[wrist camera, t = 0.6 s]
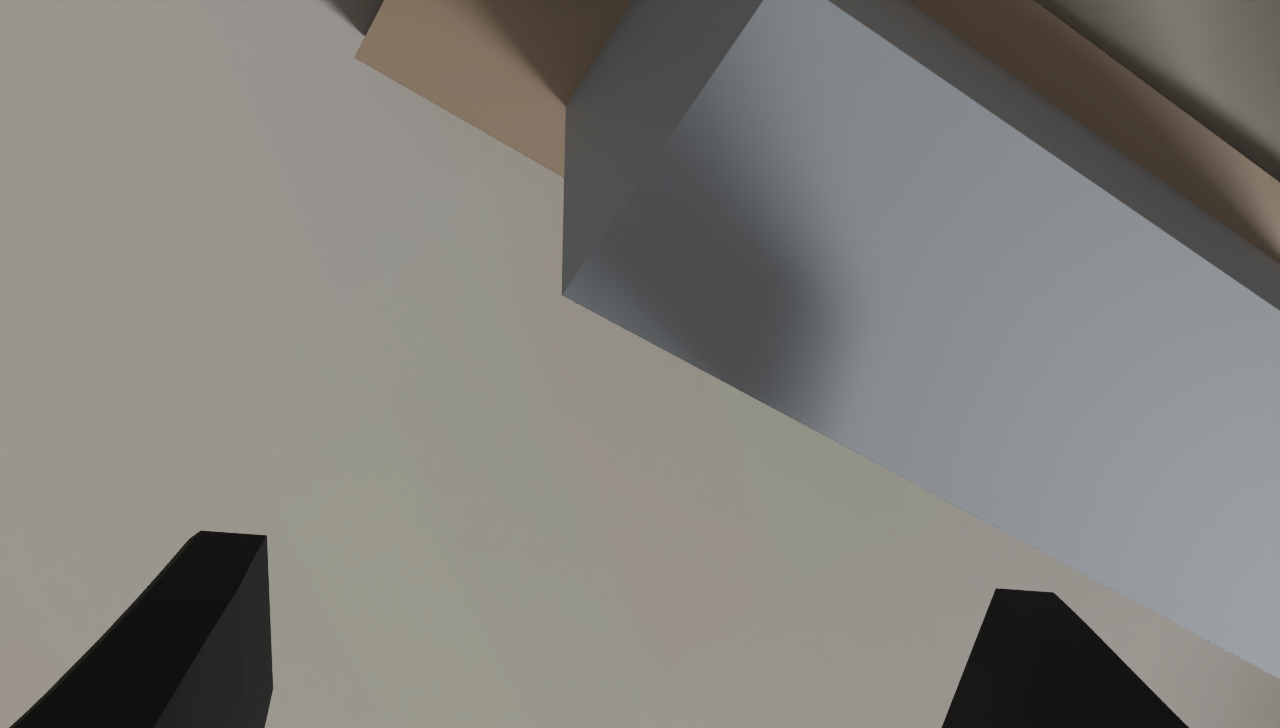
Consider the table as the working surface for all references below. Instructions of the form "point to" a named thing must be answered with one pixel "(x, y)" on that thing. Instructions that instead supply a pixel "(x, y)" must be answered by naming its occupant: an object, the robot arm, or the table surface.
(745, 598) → the table surface
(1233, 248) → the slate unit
